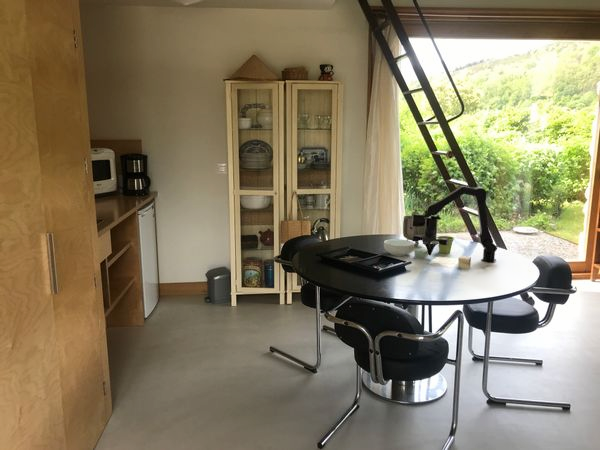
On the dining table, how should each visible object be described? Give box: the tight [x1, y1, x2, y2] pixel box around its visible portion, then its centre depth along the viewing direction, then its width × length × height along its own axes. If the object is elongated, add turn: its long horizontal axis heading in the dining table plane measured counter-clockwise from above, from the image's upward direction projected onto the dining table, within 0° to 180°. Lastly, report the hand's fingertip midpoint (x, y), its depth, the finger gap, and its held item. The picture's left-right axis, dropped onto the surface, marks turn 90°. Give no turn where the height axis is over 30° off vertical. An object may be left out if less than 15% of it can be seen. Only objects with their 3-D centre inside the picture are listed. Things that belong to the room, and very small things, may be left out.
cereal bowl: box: [383, 238, 415, 257], centre depth 270 cm, size 17×17×7 cm
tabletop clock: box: [402, 203, 426, 248], centre depth 293 cm, size 14×9×25 cm, turn 17°
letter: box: [428, 256, 459, 268], centre depth 255 cm, size 18×13×1 cm
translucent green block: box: [413, 248, 429, 260], centre depth 264 cm, size 6×6×4 cm
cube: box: [457, 255, 472, 270], centre depth 245 cm, size 5×5×5 cm
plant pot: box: [436, 235, 455, 254], centre depth 275 cm, size 9×9×9 cm
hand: (429, 255), depth 262 cm, fingers closed
